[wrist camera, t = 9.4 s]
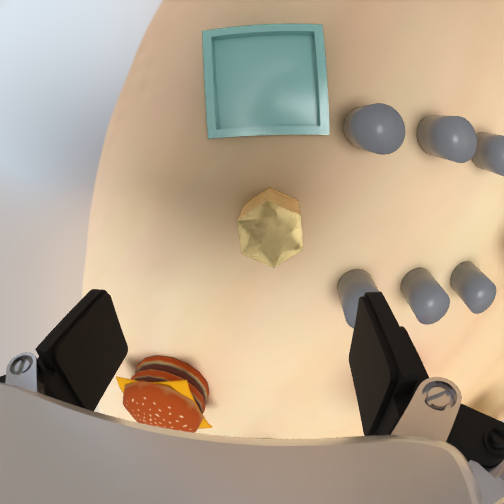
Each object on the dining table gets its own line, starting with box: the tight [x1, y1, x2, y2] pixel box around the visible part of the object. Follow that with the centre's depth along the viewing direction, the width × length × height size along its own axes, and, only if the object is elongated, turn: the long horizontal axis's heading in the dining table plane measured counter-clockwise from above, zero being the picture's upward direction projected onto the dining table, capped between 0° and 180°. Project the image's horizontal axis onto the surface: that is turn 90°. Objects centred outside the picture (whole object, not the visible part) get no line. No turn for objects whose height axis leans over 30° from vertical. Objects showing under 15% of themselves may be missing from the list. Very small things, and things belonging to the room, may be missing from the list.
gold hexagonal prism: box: [237, 187, 303, 268], centre depth 21 cm, size 5×4×4 cm
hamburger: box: [116, 356, 212, 433], centre depth 29 cm, size 9×10×7 cm
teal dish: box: [202, 24, 330, 139], centre depth 18 cm, size 8×8×2 cm
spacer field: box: [337, 103, 504, 328], centre depth 19 cm, size 16×15×4 cm
